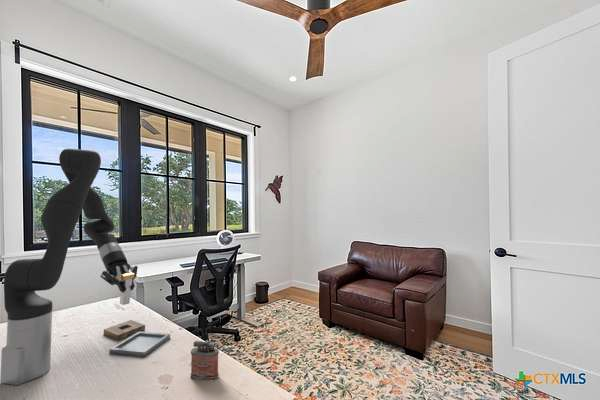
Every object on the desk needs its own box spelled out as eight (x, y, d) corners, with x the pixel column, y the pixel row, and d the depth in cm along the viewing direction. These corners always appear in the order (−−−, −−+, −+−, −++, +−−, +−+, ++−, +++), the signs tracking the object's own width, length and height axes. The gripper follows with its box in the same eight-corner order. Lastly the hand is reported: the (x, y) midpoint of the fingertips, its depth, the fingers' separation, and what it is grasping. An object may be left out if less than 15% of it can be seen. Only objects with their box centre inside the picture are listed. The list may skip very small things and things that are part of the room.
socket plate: (117, 340, 97) (117, 335, 97) (103, 334, 102) (103, 329, 102) (144, 330, 106) (145, 324, 106) (130, 324, 111) (130, 319, 111)
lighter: (220, 374, 77) (220, 339, 78) (215, 381, 74) (216, 344, 74) (194, 372, 78) (194, 337, 79) (188, 379, 75) (188, 343, 75)
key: (120, 305, 102) (124, 276, 102) (117, 303, 103) (120, 274, 103) (131, 302, 105) (134, 274, 105) (128, 300, 107) (131, 272, 106)
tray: (144, 357, 86) (144, 352, 86) (109, 353, 88) (109, 349, 88) (170, 338, 99) (170, 333, 99) (138, 335, 101) (139, 331, 101)
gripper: (96, 252, 103) (112, 288, 96) (133, 248, 115) (150, 280, 108) (89, 264, 105) (104, 301, 98) (126, 259, 117) (142, 291, 111)
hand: (128, 290), depth 103 cm, fingers closed on key, 2 cm apart
